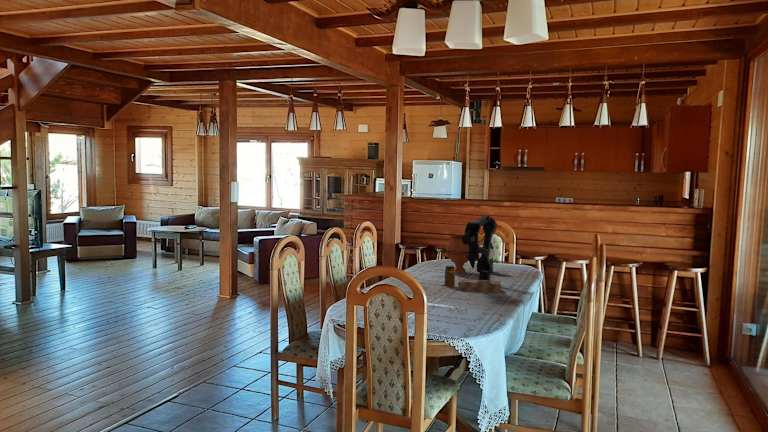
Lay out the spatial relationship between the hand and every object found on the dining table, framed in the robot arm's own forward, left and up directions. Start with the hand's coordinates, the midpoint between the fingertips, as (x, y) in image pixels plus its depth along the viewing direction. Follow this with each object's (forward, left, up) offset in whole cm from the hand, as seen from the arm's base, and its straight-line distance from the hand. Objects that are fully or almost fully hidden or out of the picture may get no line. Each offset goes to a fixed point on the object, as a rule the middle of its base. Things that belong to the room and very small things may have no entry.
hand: (473, 268), depth 345 cm
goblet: (-27, -42, -12) cm, 51 cm away
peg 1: (+6, +3, -12) cm, 14 cm away
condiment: (+10, -10, -12) cm, 19 cm away
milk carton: (-45, -35, -12) cm, 58 cm away
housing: (+2, +8, -12) cm, 14 cm away
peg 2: (-3, +12, -12) cm, 17 cm away
